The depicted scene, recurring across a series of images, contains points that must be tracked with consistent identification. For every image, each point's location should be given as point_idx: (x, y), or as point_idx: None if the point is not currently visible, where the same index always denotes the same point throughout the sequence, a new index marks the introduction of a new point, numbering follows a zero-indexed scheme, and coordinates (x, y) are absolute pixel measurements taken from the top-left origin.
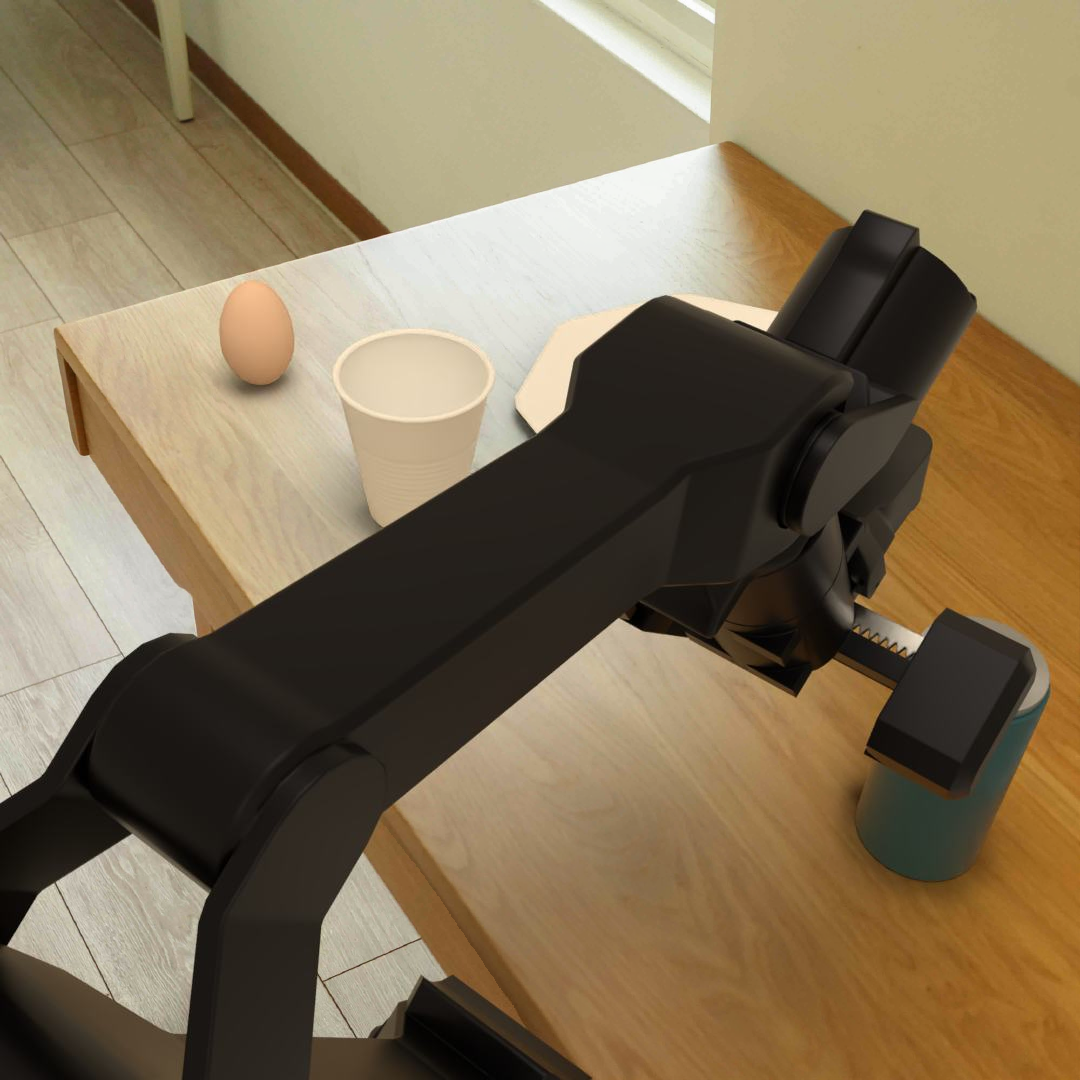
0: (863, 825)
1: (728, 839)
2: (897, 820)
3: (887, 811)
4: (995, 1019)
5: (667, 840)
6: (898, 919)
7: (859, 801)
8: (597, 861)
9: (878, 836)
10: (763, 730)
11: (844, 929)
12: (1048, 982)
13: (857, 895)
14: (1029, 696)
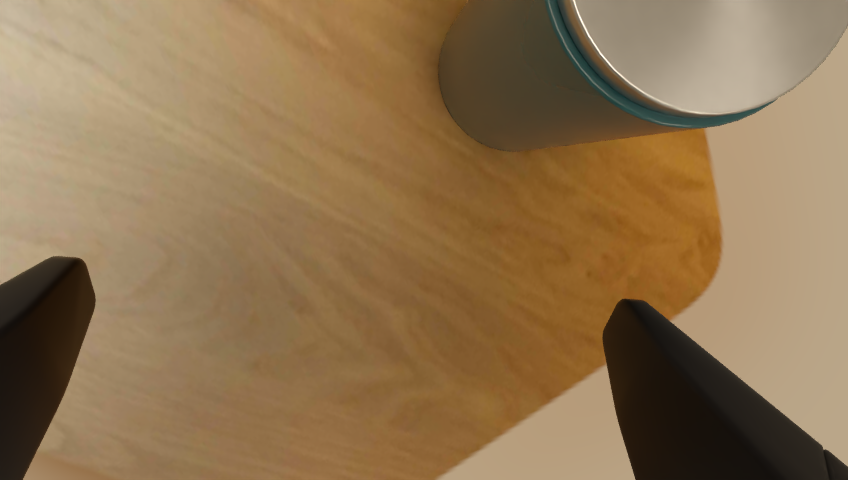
0: (463, 123)
1: (320, 220)
2: (521, 144)
3: (504, 137)
4: (656, 268)
5: (256, 264)
6: (535, 210)
7: (444, 87)
8: (198, 340)
9: (489, 140)
10: (276, 21)
11: (488, 257)
12: (694, 194)
13: (485, 206)
14: (839, 3)
